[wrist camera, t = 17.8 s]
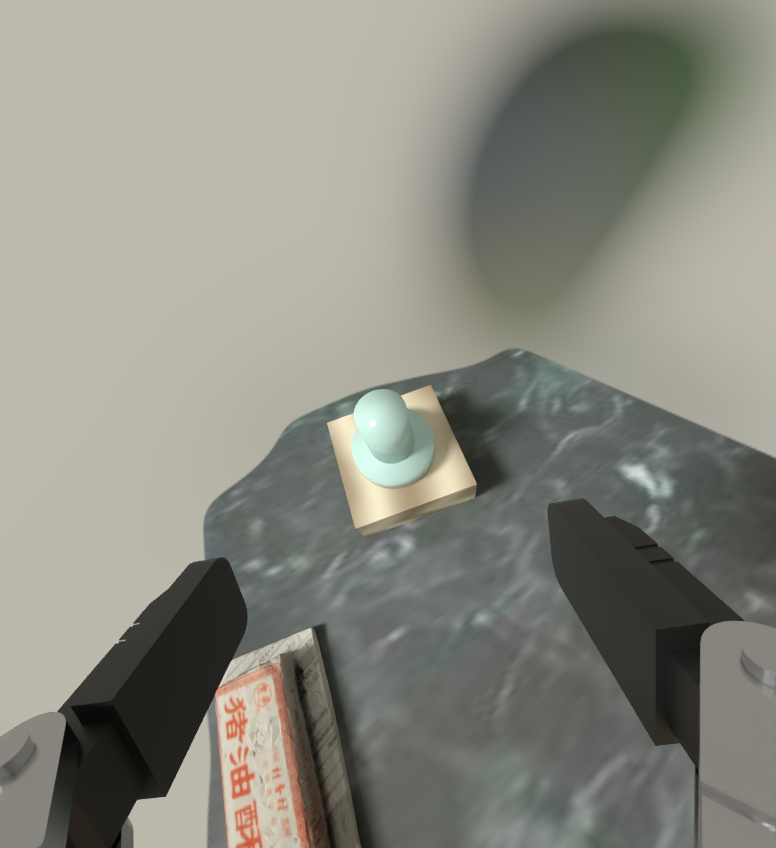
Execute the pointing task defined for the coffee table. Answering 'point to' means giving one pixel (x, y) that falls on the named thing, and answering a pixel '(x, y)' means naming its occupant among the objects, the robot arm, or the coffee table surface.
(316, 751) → the packaged product
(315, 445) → the coffee table surface
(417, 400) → the block
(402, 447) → the mint green knob
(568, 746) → the coffee table surface
